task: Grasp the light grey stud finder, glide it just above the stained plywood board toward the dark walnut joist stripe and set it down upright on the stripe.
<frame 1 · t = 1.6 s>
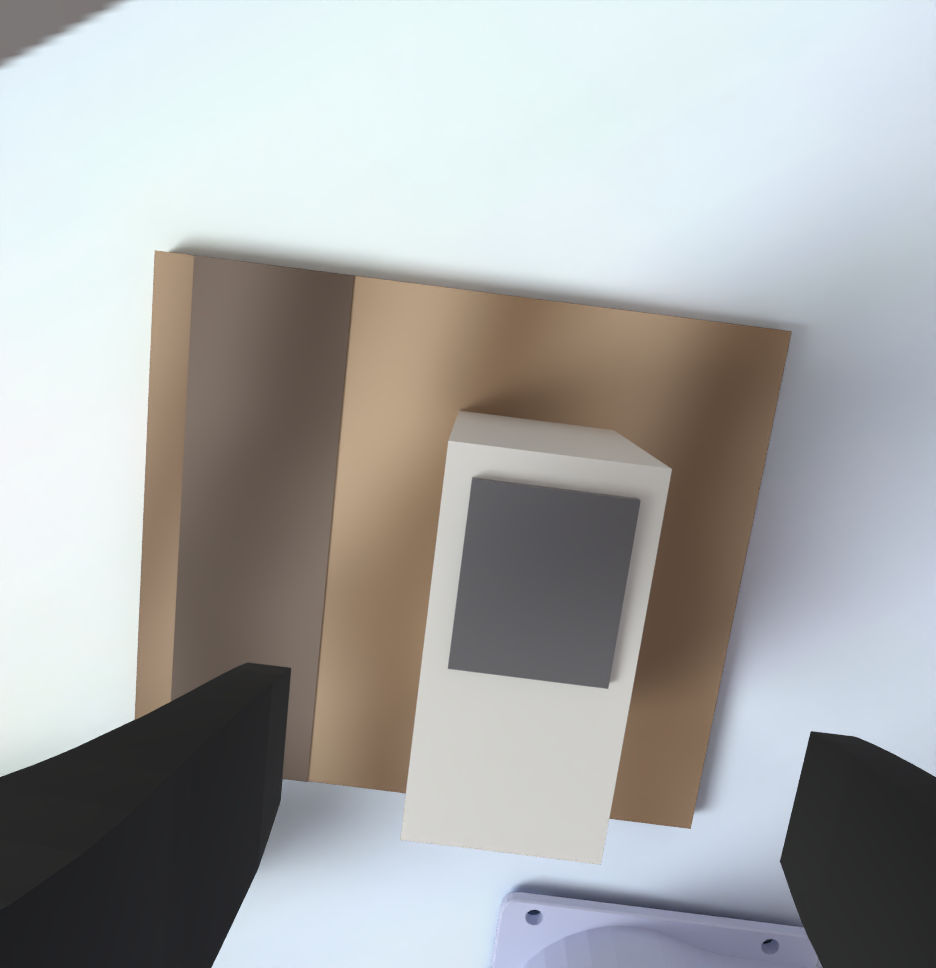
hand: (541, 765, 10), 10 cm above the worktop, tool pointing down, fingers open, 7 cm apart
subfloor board: (442, 553, 20), on the worktop
stud finder: (515, 568, 20), point 1 cm above the worktop, touching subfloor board
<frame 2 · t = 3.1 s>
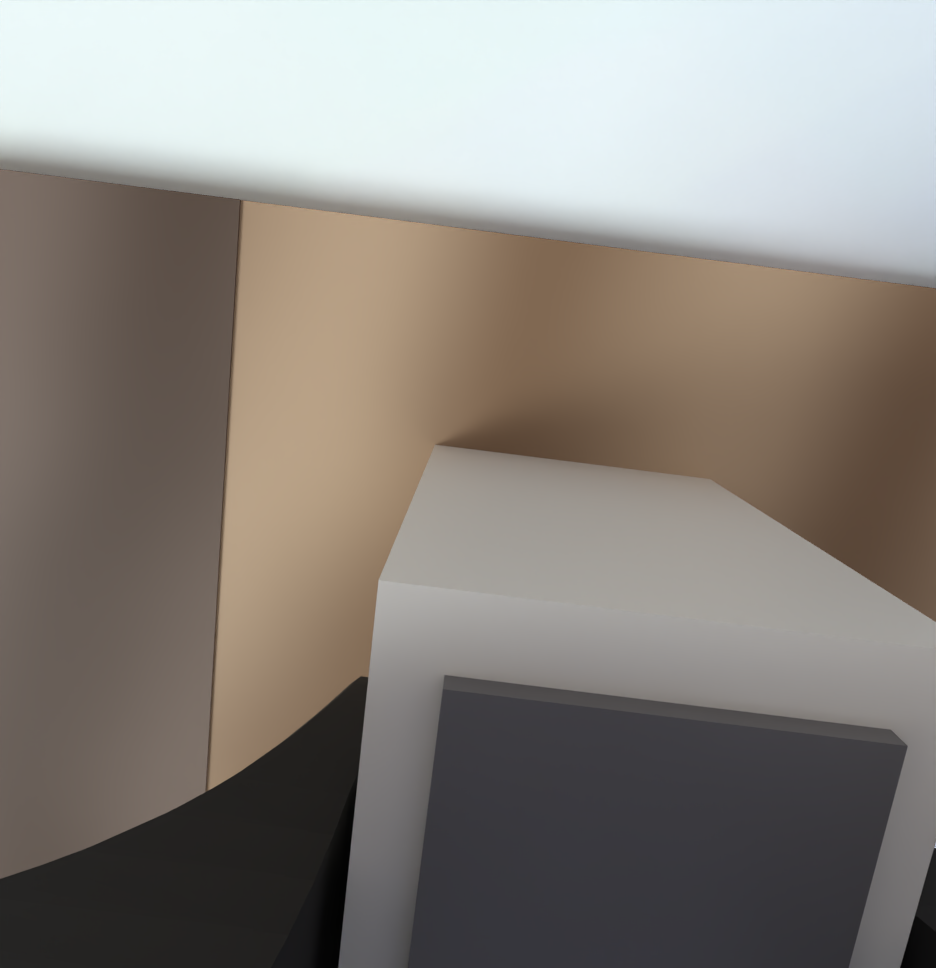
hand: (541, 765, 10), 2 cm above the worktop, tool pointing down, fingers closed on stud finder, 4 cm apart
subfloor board: (409, 680, 12), on the worktop
stud finder: (533, 714, 11), point 1 cm above the worktop, touching gripper, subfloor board
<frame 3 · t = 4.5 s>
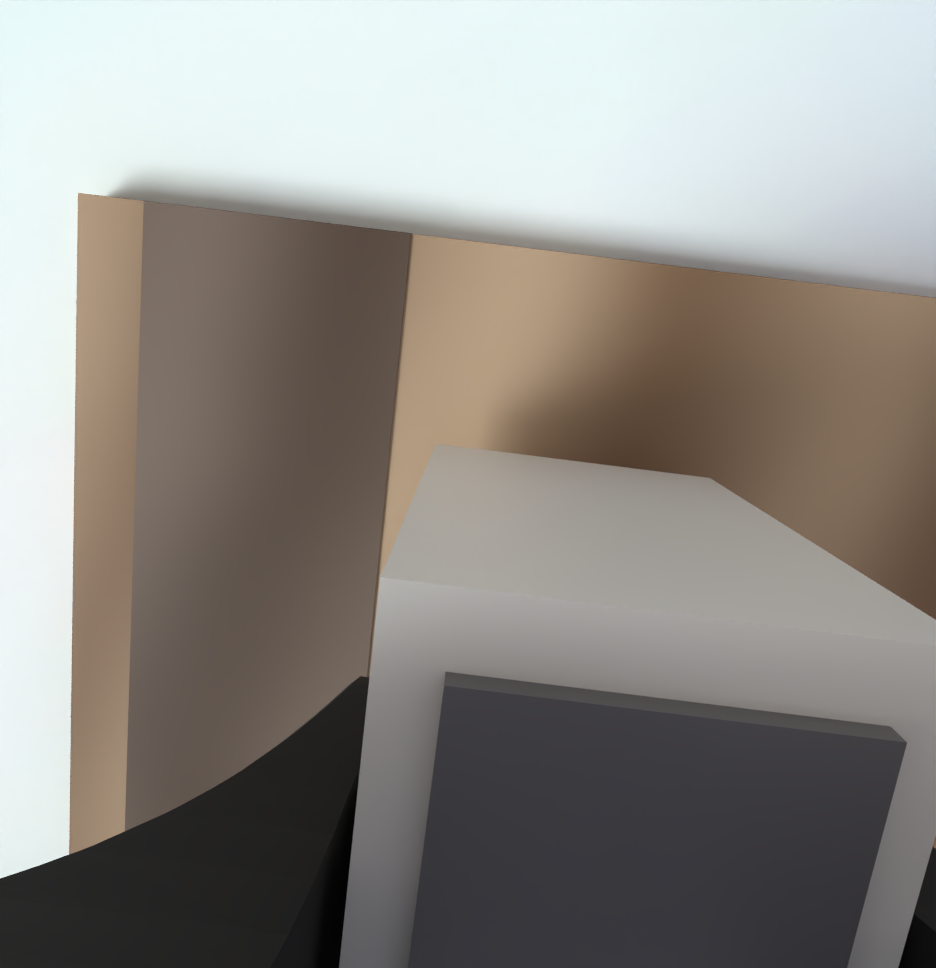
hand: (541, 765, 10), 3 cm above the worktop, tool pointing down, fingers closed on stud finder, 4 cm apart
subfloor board: (542, 671, 13), on the worktop
stud finder: (533, 712, 12), point 2 cm above the worktop, touching gripper
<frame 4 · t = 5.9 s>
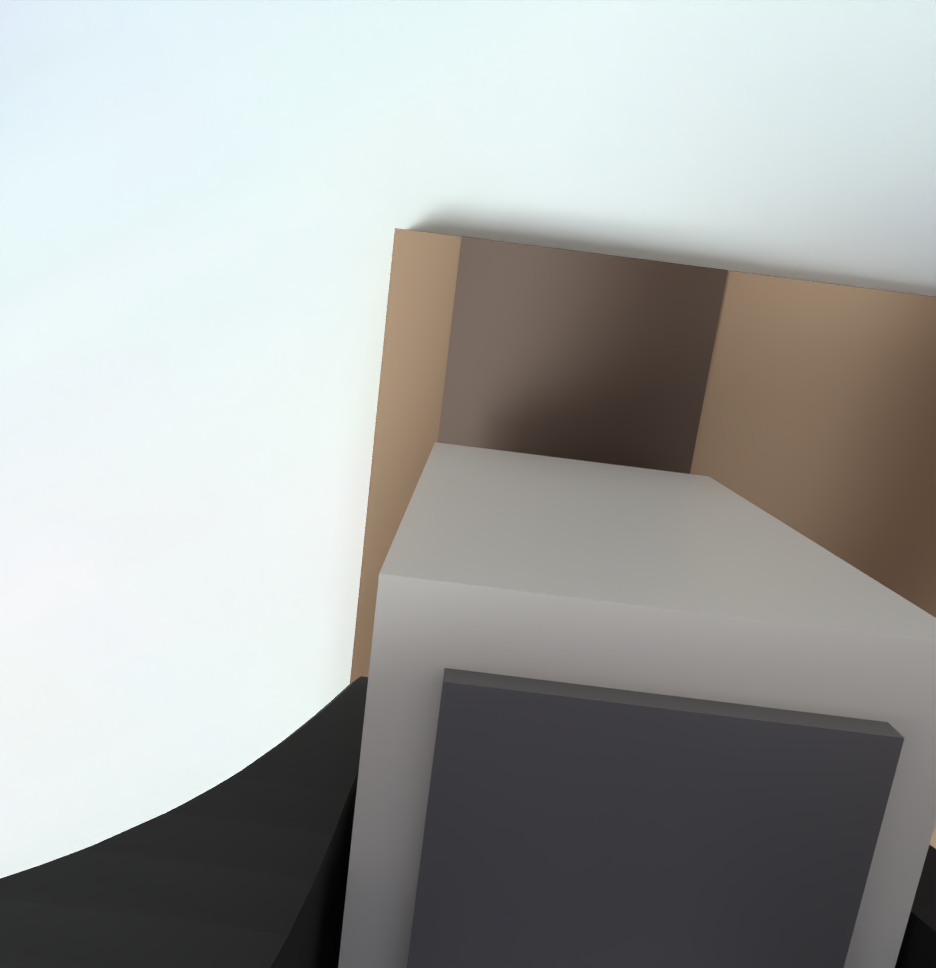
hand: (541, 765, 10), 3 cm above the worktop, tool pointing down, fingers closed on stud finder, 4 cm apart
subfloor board: (807, 702, 13), on the worktop
stud finder: (533, 711, 12), point 2 cm above the worktop, touching gripper
when the fingers open (2 cm above the worktop, at t = 6.7 s): stud finder stays where it is, resting on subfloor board.
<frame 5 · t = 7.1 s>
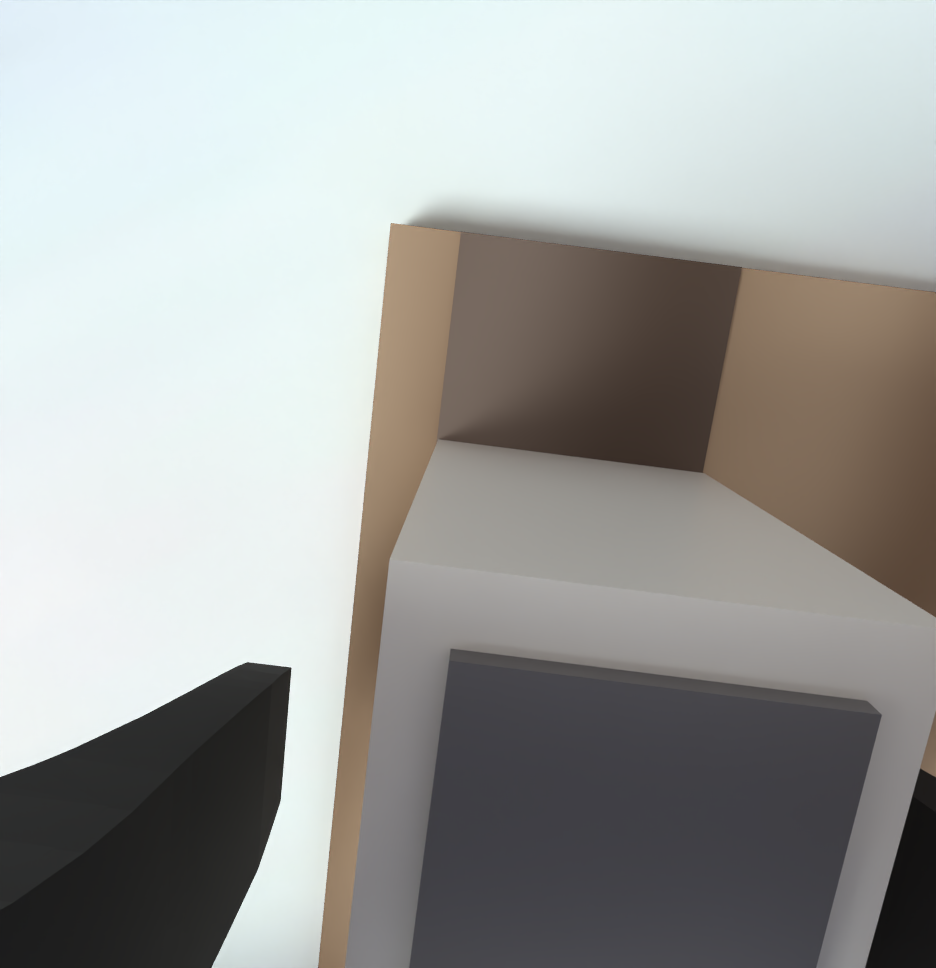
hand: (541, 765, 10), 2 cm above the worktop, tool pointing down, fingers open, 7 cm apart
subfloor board: (823, 720, 13), on the worktop
stud finder: (533, 701, 12), point 1 cm above the worktop, touching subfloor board
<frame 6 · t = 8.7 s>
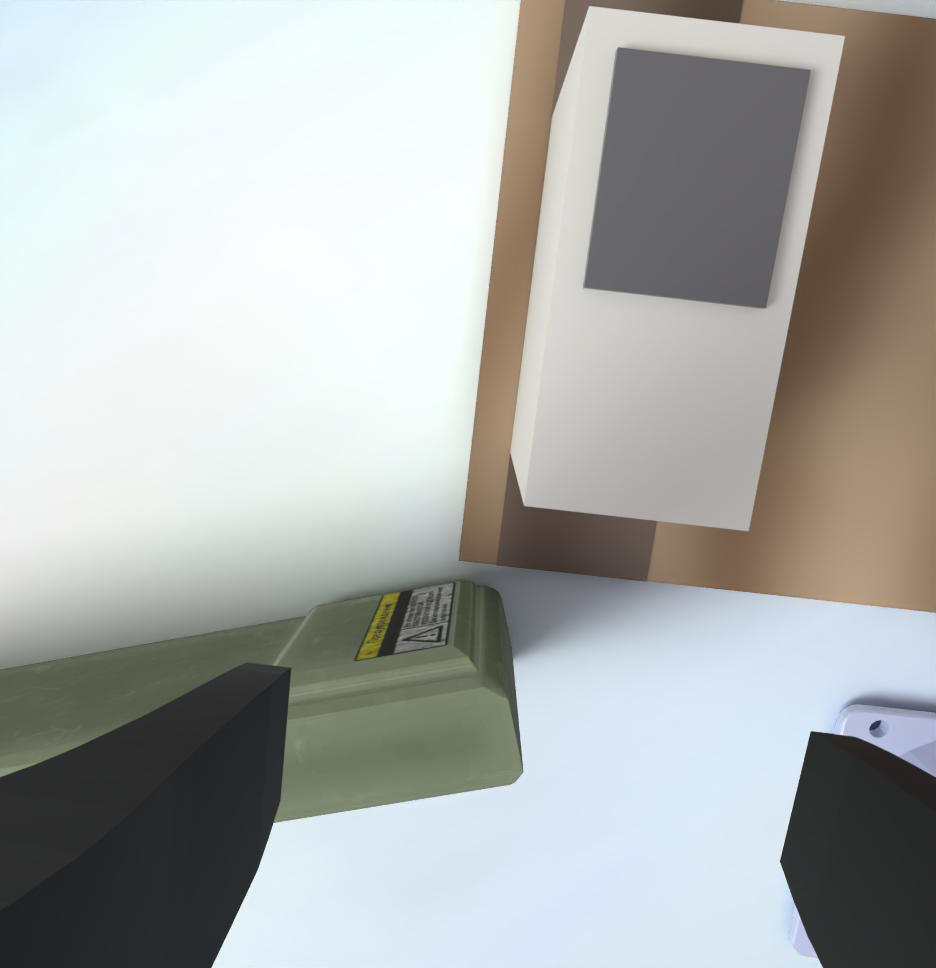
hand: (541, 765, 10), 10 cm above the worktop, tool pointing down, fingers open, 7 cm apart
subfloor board: (801, 325, 19), on the worktop
stud finder: (611, 301, 18), point 1 cm above the worktop, touching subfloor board
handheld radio: (85, 685, 22), on the worktop
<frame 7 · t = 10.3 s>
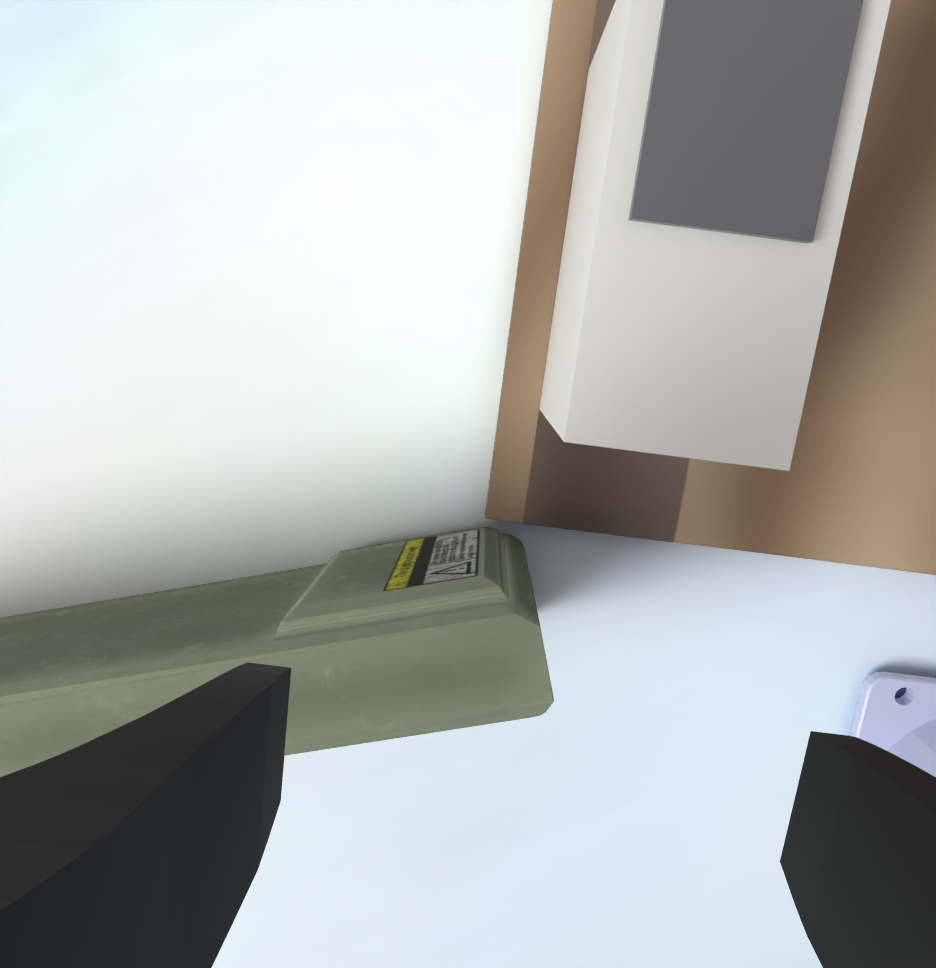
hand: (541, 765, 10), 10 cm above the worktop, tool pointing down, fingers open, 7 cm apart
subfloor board: (833, 285, 19), on the worktop
stud finder: (643, 257, 18), point 1 cm above the worktop, touching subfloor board
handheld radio: (104, 633, 22), on the worktop
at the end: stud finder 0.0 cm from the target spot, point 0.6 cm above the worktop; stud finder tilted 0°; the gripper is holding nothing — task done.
